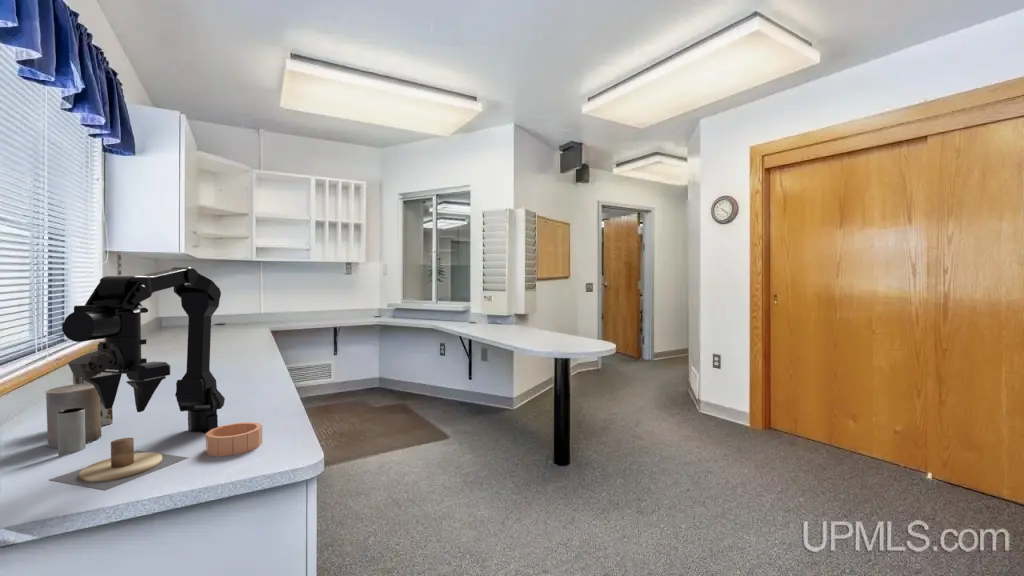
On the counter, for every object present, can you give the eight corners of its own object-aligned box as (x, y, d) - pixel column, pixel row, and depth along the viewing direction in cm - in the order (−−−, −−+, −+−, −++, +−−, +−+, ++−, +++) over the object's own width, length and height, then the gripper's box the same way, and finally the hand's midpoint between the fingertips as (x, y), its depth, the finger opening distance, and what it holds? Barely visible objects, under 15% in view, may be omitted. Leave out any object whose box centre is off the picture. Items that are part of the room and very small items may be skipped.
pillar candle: (93, 432, 119) (91, 376, 118) (107, 438, 114) (105, 380, 113) (41, 444, 110) (39, 384, 110) (54, 451, 105) (52, 388, 105)
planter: (54, 459, 100) (53, 414, 100) (63, 452, 104) (62, 409, 104) (81, 455, 102) (80, 411, 102) (88, 449, 106) (87, 406, 106)
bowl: (194, 457, 101) (194, 435, 101) (237, 440, 112) (236, 420, 112) (232, 462, 98) (232, 439, 98) (272, 444, 109) (272, 424, 109)
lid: (63, 477, 89) (62, 448, 89) (134, 453, 101) (134, 428, 101) (108, 485, 85) (108, 455, 85) (177, 459, 97) (176, 433, 97)
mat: (48, 484, 88) (48, 479, 88) (137, 454, 103) (137, 450, 103) (105, 495, 83) (105, 490, 83) (189, 462, 98) (188, 457, 98)
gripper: (43, 339, 88) (44, 418, 88) (111, 342, 83) (112, 425, 83) (108, 333, 98) (109, 403, 98) (171, 335, 93) (172, 409, 93)
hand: (124, 410), depth 93 cm, fingers open, 9 cm apart
